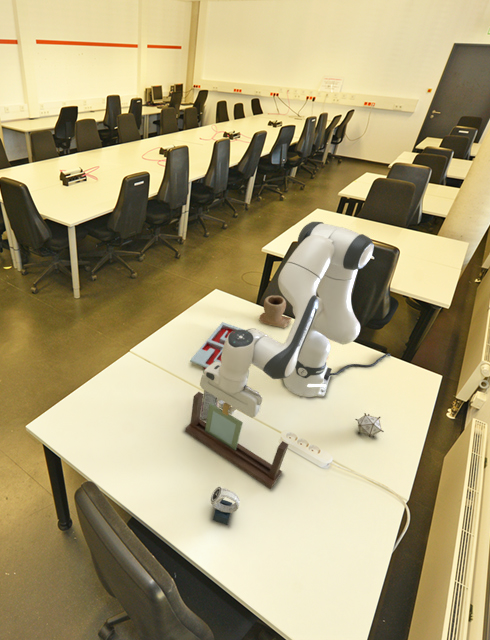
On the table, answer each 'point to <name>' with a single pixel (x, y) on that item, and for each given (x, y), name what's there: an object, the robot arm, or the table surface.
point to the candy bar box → (207, 403)
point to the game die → (369, 425)
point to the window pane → (223, 425)
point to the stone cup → (274, 312)
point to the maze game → (213, 346)
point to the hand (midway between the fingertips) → (226, 410)
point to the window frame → (241, 456)
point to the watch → (223, 504)
